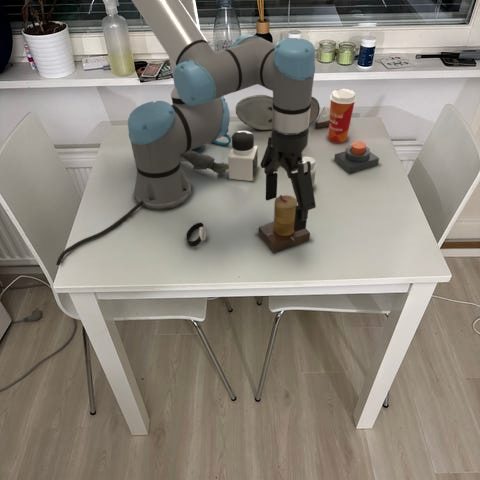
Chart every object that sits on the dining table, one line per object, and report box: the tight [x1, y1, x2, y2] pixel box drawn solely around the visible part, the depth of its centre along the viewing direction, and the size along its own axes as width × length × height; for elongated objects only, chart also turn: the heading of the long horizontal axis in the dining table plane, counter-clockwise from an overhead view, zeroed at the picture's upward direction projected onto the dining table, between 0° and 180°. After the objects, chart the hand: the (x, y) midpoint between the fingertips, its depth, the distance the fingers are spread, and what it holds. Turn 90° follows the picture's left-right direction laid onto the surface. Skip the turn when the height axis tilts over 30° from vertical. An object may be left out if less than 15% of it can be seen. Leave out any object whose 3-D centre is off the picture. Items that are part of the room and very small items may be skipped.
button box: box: [333, 144, 380, 175], centre depth 138 cm, size 10×8×4 cm
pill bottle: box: [302, 156, 317, 189], centre depth 128 cm, size 5×5×8 cm
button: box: [351, 141, 367, 155], centre depth 136 cm, size 4×4×2 cm
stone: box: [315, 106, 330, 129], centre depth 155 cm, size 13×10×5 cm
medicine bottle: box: [227, 130, 259, 182], centre depth 132 cm, size 7×7×12 cm
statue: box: [180, 150, 229, 175], centre depth 138 cm, size 7×8×30 cm
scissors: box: [212, 129, 232, 146], centre depth 148 cm, size 7×1×20 cm
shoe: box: [235, 94, 321, 131], centre depth 154 cm, size 10×27×12 cm
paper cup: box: [328, 88, 357, 144], centre depth 143 cm, size 8×8×14 cm
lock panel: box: [258, 221, 311, 254], centre depth 116 cm, size 10×9×3 cm
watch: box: [185, 222, 207, 247], centre depth 116 cm, size 8×5×4 cm, turn 170°
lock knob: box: [273, 194, 298, 236], centre depth 112 cm, size 5×5×8 cm
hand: (284, 213), depth 112 cm, fingers open, 13 cm apart
